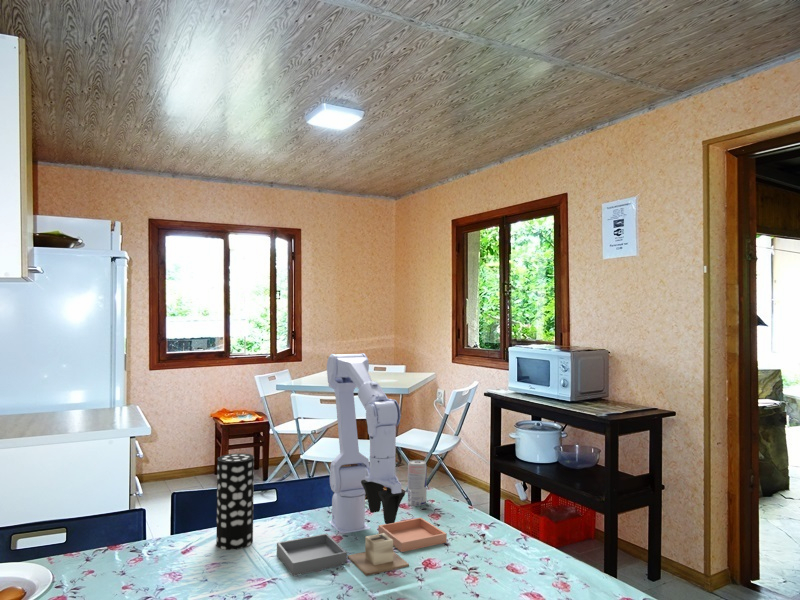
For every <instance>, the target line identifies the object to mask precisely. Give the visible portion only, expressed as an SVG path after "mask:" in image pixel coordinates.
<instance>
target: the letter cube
mask: <svg viewBox="0 0 800 600" xmlns="http://www.w3.org/2000/svg"><path fill="white" fill-rule="evenodd" d="M364 538H365V543H364V544H365V545H364V547H365V551H364V552H365V558H367V559H368V560H369V561H370V562H371V563H372V564H373V565H378V564H383V563H387V562H392V561H393V551H394V546H393V540H392V539H391V538H390V537H388V536H387V535H386V534H385V533H381V534H379V533H377V534H372V535H371V534H370V535H368V536H365V537H364Z"/></svg>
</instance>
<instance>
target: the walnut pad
mask: <svg viewBox="0 0 800 600" xmlns="http://www.w3.org/2000/svg"><path fill="white" fill-rule="evenodd" d="M348 559H349V561H350V562H352V564H354V565H355V566H356V568H358V569H359V571H360V572H362V573H363V574H364V576H366V577H367V576H372V575H376V574H381V573H384V572H388V571H389V572H390V571H393V570H398V569H403V568H408V567H409V566H410V564H409V562H407V561H406V560H405V559H404V558H402V557H401V556H400V555H399V554H398V553H396V552H395V551H394V550H393V561H392V562H387V563H383V564H378V565H373V564H372V563H371V562H370V561H369V560H368V559H367V558H365V551H362V552H357V553H353V554H347V560H348Z"/></svg>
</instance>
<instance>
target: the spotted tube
mask: <svg viewBox="0 0 800 600" xmlns="http://www.w3.org/2000/svg"><path fill="white" fill-rule="evenodd" d="M254 467H255V456H254V454H250V453H241V452H240V453H239V452H238V453H229V454H224V455H223V454H222V455H221V456H219V457H217V467H216V469H217V472H216V474H217V475H216V476H217V477H216V478H217V480H216V483H217V485H216V535H215V539H216V545H215V546H216V547H217V548H218V549H221V550H227V551H229V550H230V551H233V550H240V549H244V548H246V547H249V546H250V545H252V544H253V542H254V488H255V487H254V481H255V479H254V478H255V477H254V475H255V473H254V472H255V469H254Z"/></svg>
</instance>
